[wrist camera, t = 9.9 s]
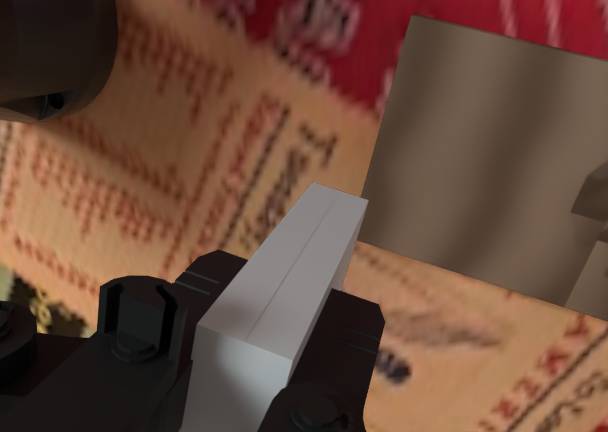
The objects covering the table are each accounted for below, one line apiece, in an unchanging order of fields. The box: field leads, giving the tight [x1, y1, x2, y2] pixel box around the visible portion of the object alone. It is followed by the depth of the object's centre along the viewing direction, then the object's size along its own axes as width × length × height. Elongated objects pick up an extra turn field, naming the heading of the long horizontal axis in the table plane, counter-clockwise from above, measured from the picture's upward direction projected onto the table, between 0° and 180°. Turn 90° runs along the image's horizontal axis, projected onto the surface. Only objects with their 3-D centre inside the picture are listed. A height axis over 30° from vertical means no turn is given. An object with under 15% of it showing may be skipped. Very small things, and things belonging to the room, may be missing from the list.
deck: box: [357, 14, 608, 321], centre depth 31 cm, size 22×14×2 cm, turn 78°
